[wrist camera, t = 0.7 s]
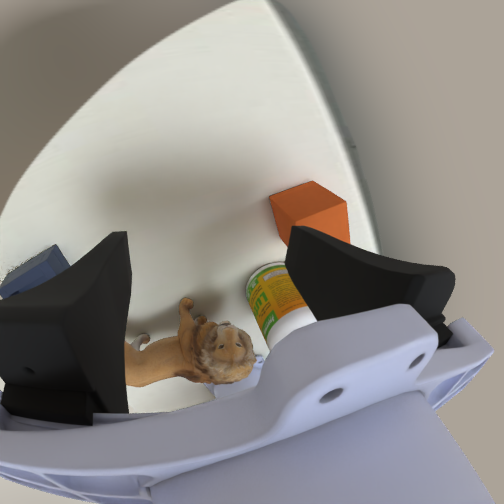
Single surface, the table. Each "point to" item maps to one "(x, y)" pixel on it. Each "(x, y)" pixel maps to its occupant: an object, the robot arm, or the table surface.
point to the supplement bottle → (276, 303)
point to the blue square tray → (34, 272)
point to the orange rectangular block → (310, 211)
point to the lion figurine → (191, 353)
